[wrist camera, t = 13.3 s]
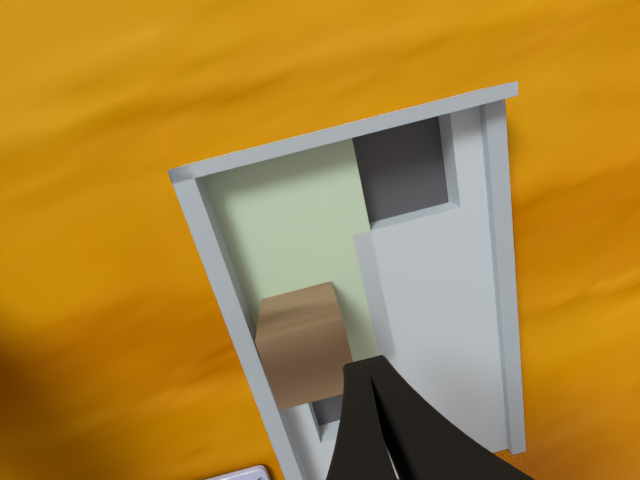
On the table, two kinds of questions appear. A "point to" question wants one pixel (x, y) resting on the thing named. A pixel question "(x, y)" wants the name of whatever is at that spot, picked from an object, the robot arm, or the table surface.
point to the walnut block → (303, 345)
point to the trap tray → (376, 260)
